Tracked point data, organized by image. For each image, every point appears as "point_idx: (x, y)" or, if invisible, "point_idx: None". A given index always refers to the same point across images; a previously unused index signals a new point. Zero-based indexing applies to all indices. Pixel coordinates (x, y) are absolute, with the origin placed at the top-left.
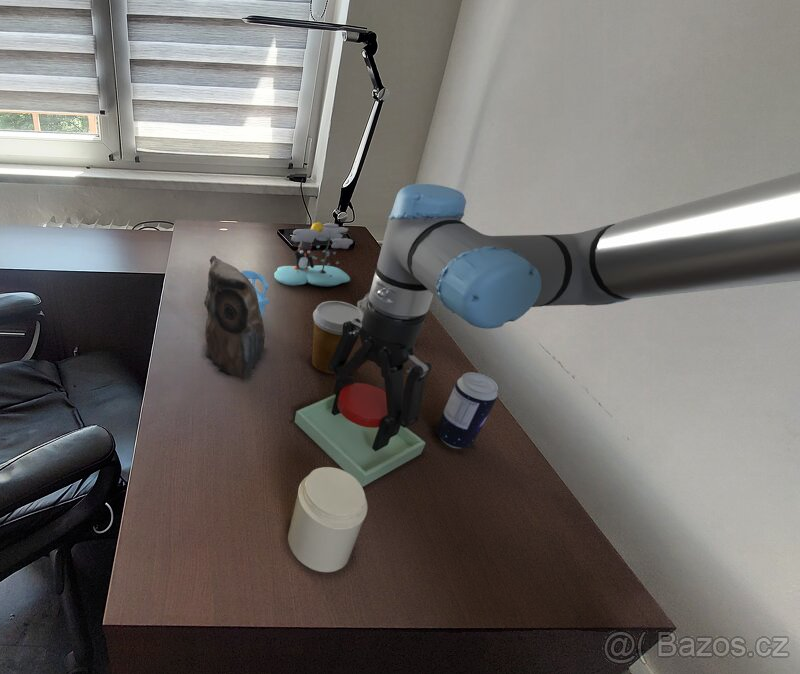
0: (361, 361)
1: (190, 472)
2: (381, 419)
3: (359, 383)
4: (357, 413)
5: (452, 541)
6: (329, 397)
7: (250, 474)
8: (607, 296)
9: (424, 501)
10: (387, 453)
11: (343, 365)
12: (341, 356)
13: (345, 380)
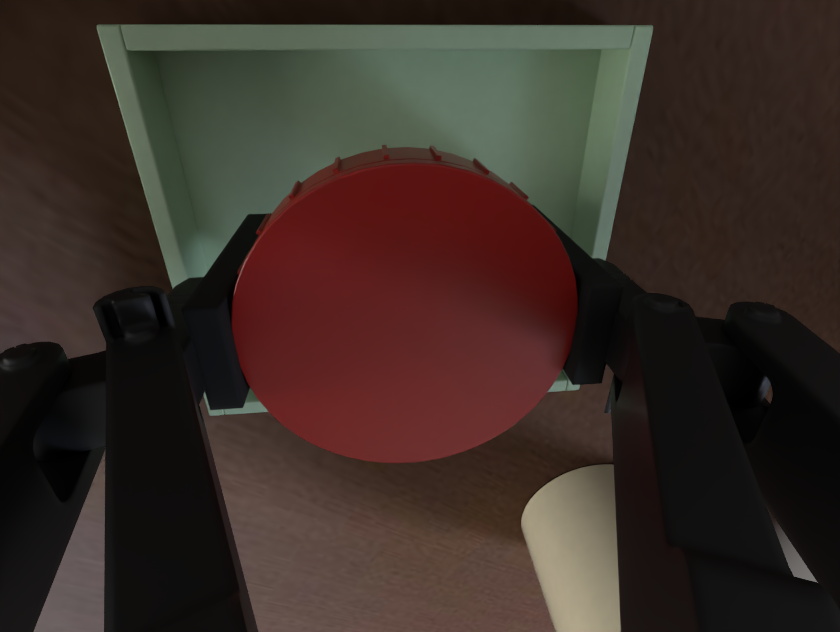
0: (251, 616)
1: (301, 628)
2: (560, 367)
3: (246, 270)
4: (462, 444)
5: (826, 265)
6: (161, 239)
7: (365, 548)
8: None
9: (718, 227)
10: (531, 190)
11: (59, 375)
12: (36, 575)
13: (199, 362)
